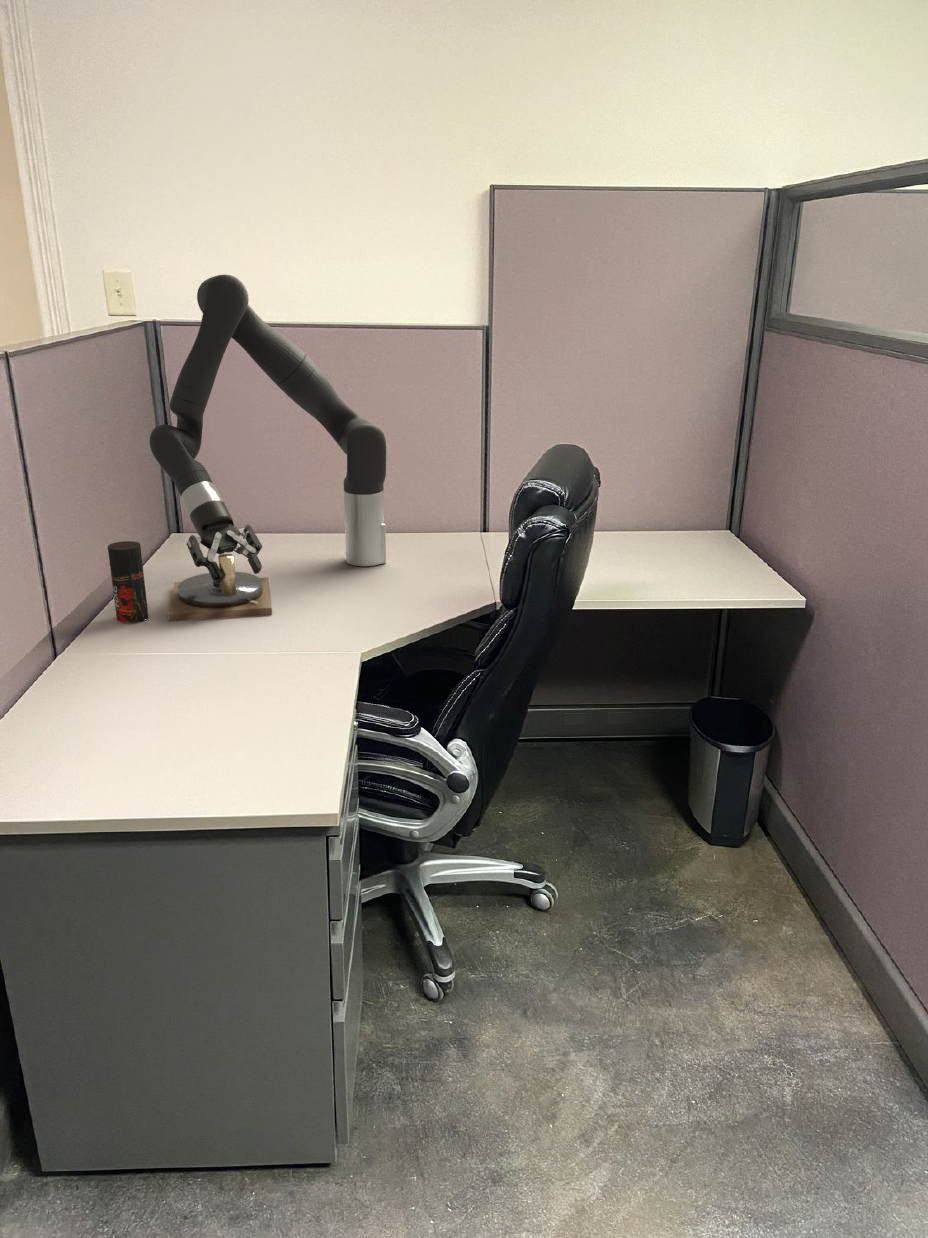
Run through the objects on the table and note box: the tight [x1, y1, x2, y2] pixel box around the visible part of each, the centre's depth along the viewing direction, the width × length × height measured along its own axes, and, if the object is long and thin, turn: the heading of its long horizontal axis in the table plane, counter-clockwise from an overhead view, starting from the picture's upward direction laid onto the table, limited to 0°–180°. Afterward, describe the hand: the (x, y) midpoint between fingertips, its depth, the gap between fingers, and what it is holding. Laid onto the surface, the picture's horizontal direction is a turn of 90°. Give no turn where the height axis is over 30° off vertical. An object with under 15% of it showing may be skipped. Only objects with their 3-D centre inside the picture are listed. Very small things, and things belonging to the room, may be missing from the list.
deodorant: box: [107, 540, 149, 625], centre depth 179 cm, size 6×6×15 cm
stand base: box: [167, 576, 273, 622], centre depth 191 cm, size 20×20×2 cm
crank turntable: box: [178, 553, 263, 607], centre depth 189 cm, size 17×17×10 cm
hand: (239, 576), depth 183 cm, fingers open, 8 cm apart
